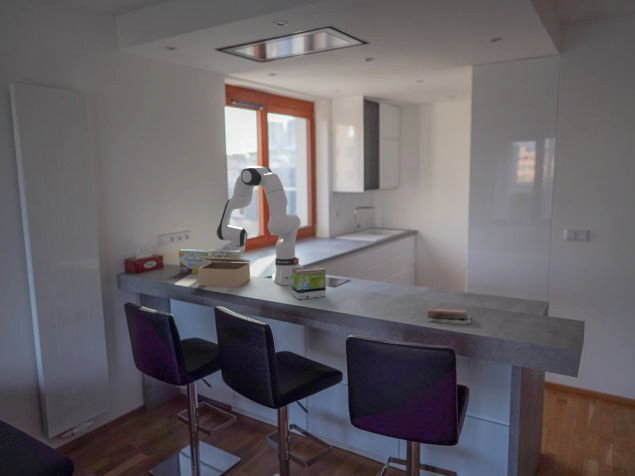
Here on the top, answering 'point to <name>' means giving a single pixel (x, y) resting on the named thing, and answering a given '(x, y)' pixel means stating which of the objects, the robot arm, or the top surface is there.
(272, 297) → the top surface
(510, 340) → the top surface
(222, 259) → the carton lid
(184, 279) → the top surface
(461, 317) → the packaged product
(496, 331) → the top surface
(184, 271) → the snack box
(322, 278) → the tea box
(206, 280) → the carton
